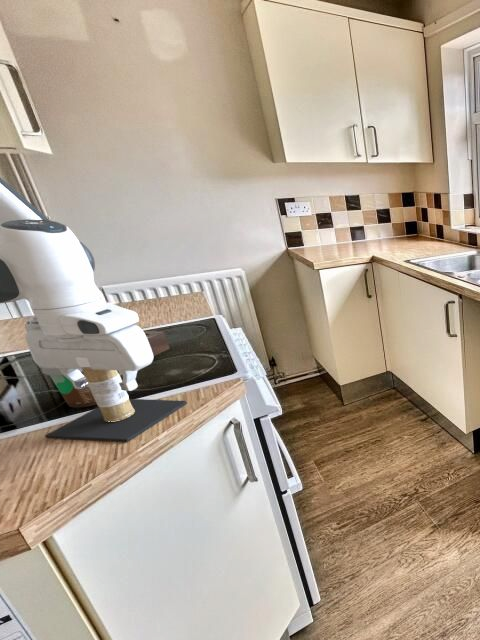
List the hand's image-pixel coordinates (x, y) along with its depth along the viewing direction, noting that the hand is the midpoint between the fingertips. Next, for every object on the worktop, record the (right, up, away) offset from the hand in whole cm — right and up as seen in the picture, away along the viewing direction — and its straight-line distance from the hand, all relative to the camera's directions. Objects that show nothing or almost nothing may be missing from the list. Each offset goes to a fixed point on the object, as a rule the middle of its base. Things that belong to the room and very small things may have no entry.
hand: (107, 388), depth 78 cm
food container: (-15, -4, +10) cm, 18 cm away
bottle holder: (-22, +5, +30) cm, 37 cm away
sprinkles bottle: (0, -6, +3) cm, 6 cm away
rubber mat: (0, -6, +3) cm, 7 cm away
